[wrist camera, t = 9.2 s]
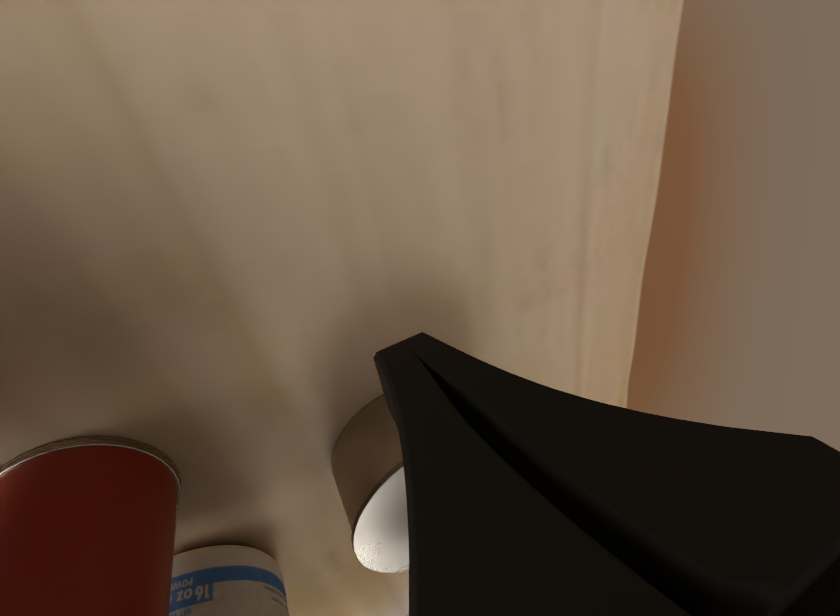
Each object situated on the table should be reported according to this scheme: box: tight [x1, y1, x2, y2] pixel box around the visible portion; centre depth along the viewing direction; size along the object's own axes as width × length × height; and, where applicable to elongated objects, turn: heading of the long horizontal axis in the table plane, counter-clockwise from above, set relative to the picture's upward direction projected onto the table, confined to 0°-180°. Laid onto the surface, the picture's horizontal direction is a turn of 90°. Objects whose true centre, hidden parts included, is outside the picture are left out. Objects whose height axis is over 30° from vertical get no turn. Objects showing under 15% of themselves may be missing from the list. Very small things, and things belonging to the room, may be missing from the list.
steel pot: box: [332, 395, 409, 573], centre depth 22 cm, size 9×9×5 cm
